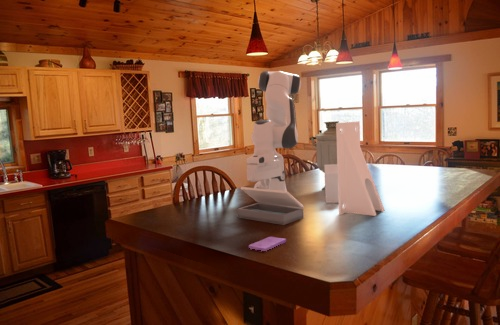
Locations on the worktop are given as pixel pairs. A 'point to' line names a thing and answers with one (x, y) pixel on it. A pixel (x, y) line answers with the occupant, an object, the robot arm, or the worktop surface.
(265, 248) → the sponges
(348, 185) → the white bracket plate
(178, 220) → the worktop surface
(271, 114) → the robot arm
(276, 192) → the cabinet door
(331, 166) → the milk carton
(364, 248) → the worktop surface
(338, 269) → the worktop surface
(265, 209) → the shallow grey box
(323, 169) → the samovar
